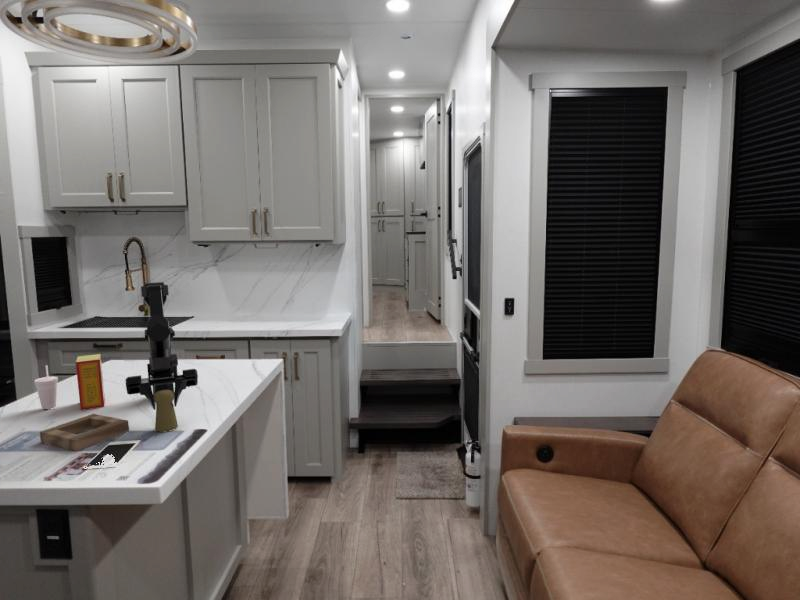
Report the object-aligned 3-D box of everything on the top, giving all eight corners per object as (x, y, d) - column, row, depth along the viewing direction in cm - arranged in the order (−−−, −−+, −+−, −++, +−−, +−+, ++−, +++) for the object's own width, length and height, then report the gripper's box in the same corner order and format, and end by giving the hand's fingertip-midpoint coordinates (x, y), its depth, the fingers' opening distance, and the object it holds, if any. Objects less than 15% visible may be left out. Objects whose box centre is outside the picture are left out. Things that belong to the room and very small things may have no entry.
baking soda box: (82, 402, 172) (77, 355, 170) (104, 398, 175) (100, 352, 173) (80, 410, 164) (75, 361, 162) (104, 406, 167) (99, 358, 165)
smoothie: (65, 406, 168) (61, 364, 166) (45, 412, 162) (40, 369, 160) (53, 403, 171) (48, 362, 169) (32, 409, 165) (27, 367, 163)
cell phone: (141, 442, 138) (140, 439, 138) (116, 469, 122) (116, 466, 122) (110, 444, 137) (109, 442, 137) (81, 471, 121) (81, 469, 121)
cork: (169, 432, 143) (166, 394, 142) (150, 431, 144) (146, 393, 143) (182, 424, 149) (179, 388, 148) (164, 423, 150) (161, 387, 149)
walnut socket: (40, 442, 138) (39, 431, 138) (94, 423, 152) (93, 413, 151) (76, 451, 132) (75, 440, 132) (129, 430, 145) (128, 420, 145)
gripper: (122, 349, 143) (124, 398, 135) (194, 341, 151) (200, 388, 143) (126, 370, 151) (128, 418, 143) (194, 362, 159) (200, 407, 151)
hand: (165, 407), depth 145 cm, fingers closed on cork, 5 cm apart
